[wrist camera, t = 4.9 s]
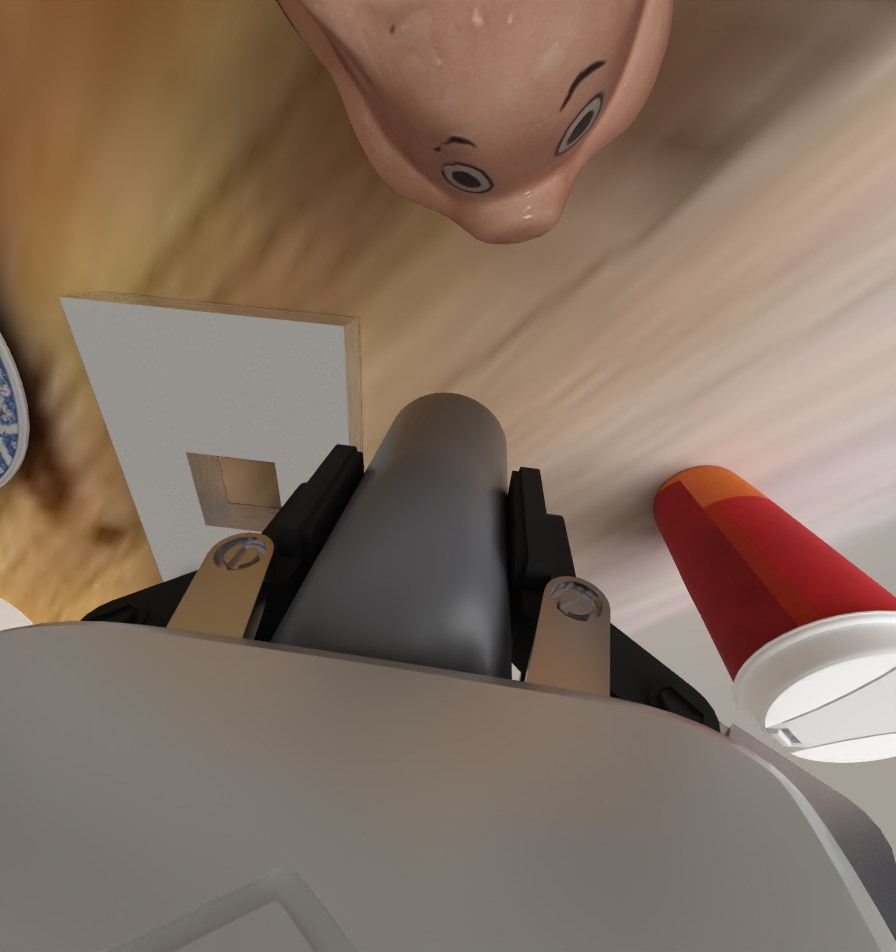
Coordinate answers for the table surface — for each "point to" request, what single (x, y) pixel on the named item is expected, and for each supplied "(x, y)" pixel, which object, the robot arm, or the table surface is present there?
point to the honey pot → (11, 616)
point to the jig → (214, 405)
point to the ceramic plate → (11, 416)
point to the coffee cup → (785, 618)
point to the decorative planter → (487, 95)
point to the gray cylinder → (419, 549)
